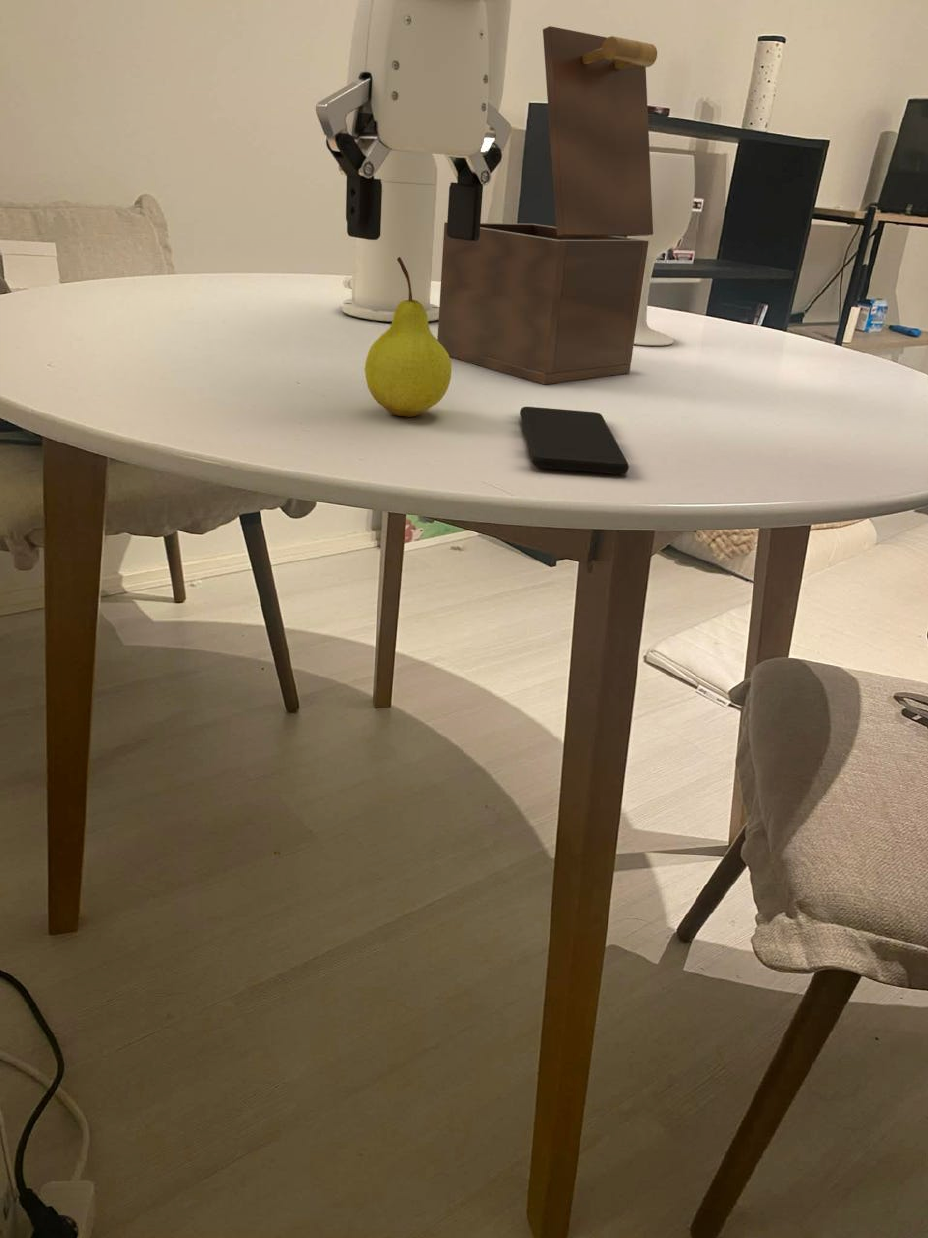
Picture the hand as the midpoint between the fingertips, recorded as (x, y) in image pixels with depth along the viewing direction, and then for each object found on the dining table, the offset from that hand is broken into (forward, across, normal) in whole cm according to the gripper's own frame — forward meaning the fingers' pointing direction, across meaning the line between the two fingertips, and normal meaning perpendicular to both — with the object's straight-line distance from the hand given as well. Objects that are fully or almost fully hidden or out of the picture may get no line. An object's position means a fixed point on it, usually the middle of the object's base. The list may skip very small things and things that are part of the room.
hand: (414, 238), depth 74 cm
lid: (-8, -26, -6) cm, 28 cm away
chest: (+13, -26, -11) cm, 32 cm away
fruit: (+14, 0, 0) cm, 14 cm away
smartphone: (+14, -6, +12) cm, 19 cm away
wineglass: (+13, -50, -16) cm, 55 cm away
